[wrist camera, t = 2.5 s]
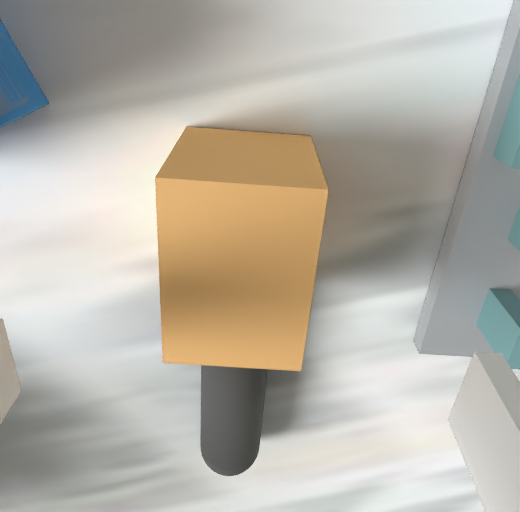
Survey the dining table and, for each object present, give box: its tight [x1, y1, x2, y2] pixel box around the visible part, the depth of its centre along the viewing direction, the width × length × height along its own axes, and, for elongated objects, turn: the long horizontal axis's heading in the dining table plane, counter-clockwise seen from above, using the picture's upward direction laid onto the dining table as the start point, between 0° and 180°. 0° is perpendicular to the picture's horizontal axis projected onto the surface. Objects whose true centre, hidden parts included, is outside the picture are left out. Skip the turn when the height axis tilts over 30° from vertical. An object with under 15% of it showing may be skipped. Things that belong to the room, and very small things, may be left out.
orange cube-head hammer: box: [155, 127, 328, 476], centre depth 20 cm, size 18×5×6 cm, turn 176°
